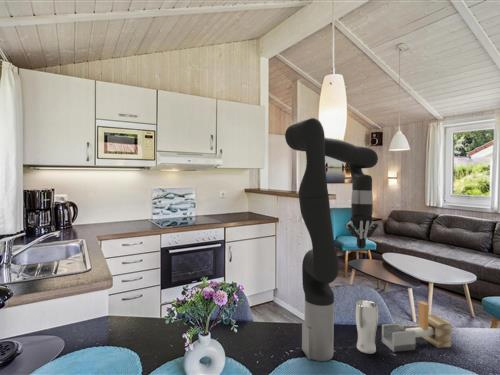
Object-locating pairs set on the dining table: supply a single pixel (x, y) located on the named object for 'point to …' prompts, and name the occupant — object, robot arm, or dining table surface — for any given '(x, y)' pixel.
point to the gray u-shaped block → (398, 337)
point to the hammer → (423, 322)
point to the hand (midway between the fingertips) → (361, 248)
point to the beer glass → (366, 325)
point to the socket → (439, 332)
